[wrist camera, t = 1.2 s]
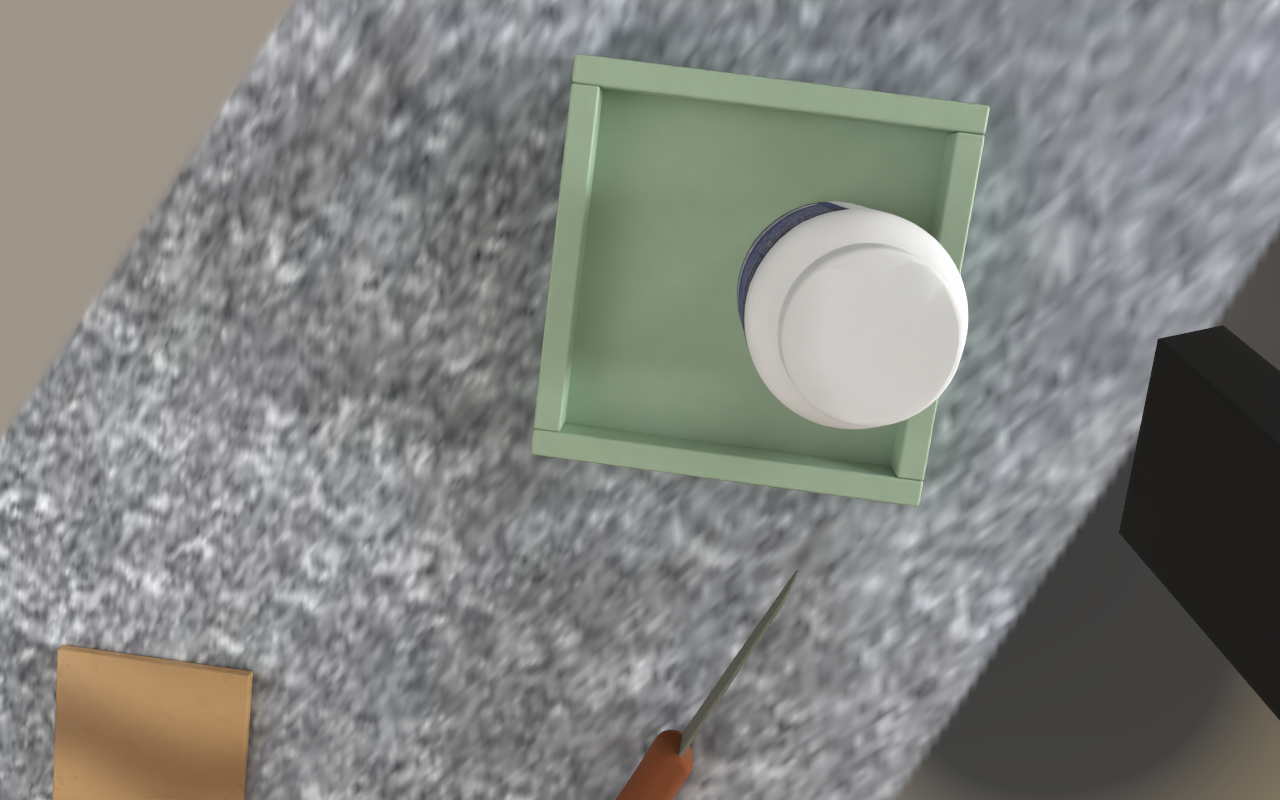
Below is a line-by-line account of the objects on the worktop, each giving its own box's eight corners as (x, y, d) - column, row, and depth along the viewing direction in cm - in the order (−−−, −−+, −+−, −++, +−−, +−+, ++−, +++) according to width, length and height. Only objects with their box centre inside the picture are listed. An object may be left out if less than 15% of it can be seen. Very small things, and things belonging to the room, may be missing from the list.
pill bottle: (727, 373, 36) (735, 447, 27) (744, 193, 35) (759, 203, 26) (906, 389, 36) (979, 469, 26) (929, 208, 35) (1014, 224, 25)
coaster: (63, 644, 40) (57, 648, 39) (253, 670, 39) (249, 676, 39) (57, 819, 41) (51, 825, 40) (241, 846, 41) (237, 852, 40)
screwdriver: (558, 944, 41) (551, 983, 39) (524, 924, 41) (514, 962, 39) (814, 572, 38) (819, 594, 36) (777, 549, 38) (780, 571, 36)
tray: (581, 58, 35) (574, 53, 33) (976, 108, 35) (991, 105, 33) (538, 441, 37) (530, 454, 36) (909, 491, 37) (919, 507, 35)
